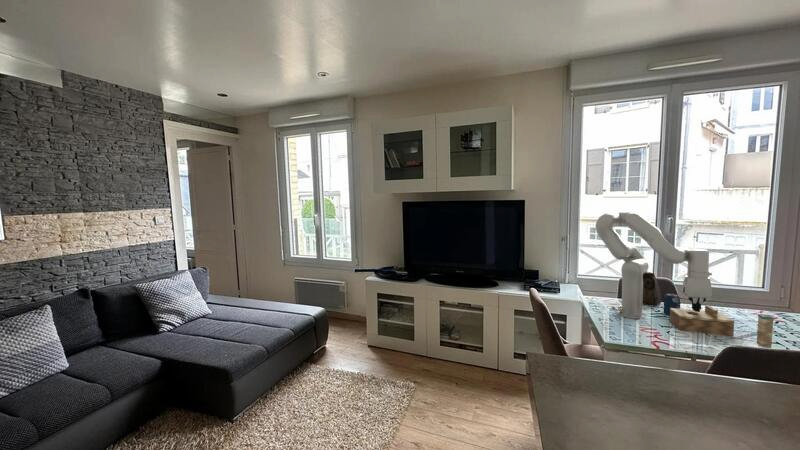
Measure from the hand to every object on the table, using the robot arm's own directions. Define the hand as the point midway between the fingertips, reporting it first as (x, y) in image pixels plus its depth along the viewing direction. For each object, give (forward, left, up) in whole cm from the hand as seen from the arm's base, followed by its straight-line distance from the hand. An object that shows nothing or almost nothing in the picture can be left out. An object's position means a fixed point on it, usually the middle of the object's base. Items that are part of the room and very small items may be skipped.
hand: (696, 310), depth 158 cm
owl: (-6, +41, -10) cm, 43 cm away
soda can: (-3, +19, -10) cm, 22 cm away
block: (+19, -13, -10) cm, 25 cm away
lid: (+2, 0, -2) cm, 3 cm away
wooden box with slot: (+2, 0, -10) cm, 10 cm away
